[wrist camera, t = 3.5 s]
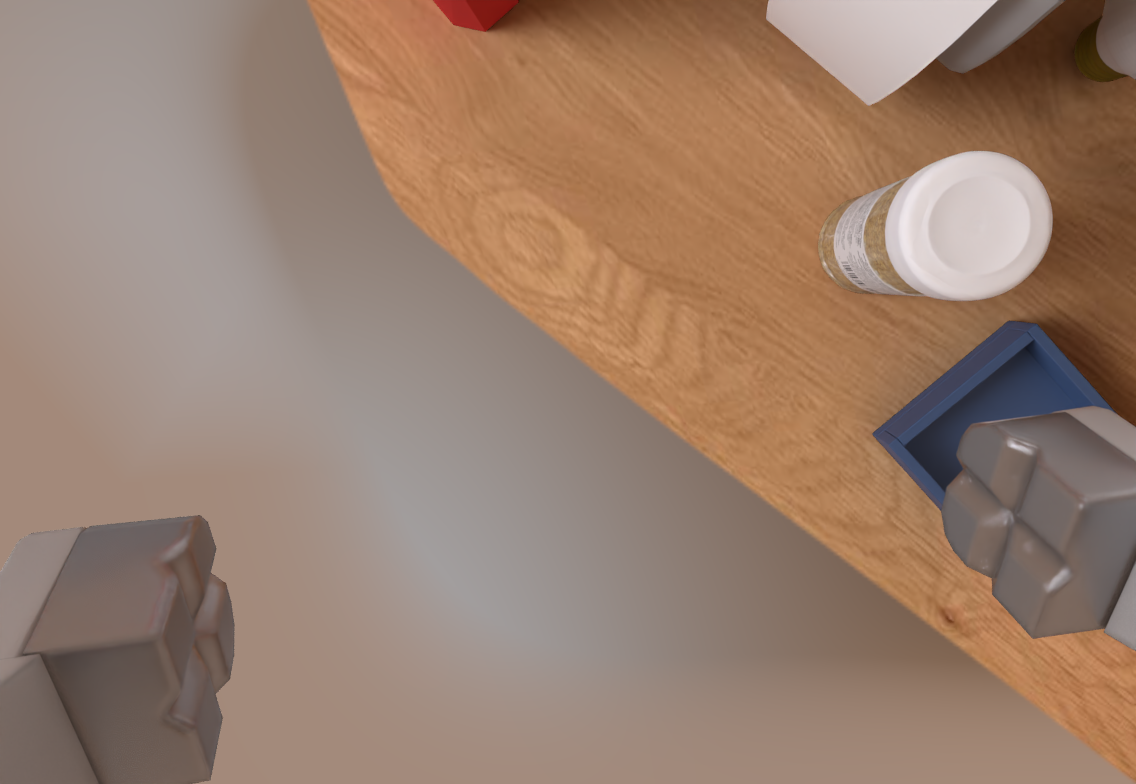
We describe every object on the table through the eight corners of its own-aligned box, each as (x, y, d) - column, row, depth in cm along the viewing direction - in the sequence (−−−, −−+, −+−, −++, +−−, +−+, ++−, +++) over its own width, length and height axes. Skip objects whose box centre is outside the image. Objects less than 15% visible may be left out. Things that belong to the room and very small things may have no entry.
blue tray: (1008, 319, 38) (1036, 323, 35) (1122, 447, 38) (1159, 460, 35) (871, 433, 39) (888, 445, 37) (982, 556, 40) (1006, 577, 37)
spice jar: (936, 252, 38) (1090, 237, 25) (854, 314, 39) (960, 332, 25) (875, 173, 38) (998, 115, 24) (794, 237, 38) (870, 215, 25)
